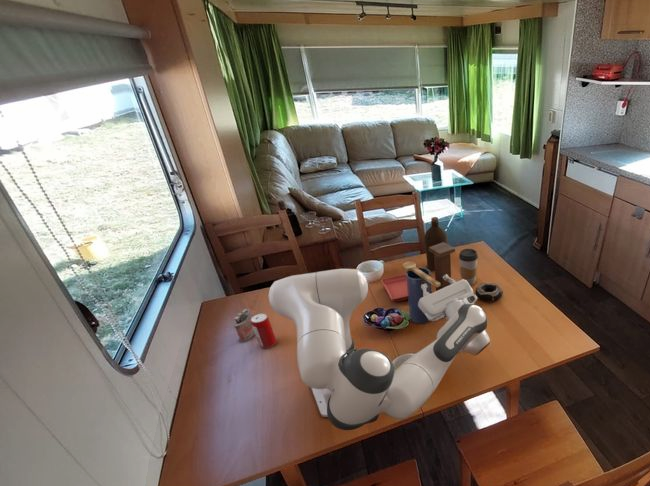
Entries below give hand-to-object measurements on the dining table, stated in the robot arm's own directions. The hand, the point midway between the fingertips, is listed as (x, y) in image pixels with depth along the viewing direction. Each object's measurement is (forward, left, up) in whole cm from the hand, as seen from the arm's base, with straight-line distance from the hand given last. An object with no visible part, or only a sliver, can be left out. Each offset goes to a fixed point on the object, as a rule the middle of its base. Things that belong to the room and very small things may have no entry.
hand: (433, 280), depth 133 cm
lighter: (+21, +66, -22) cm, 73 cm away
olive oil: (+46, -15, -22) cm, 53 cm away
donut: (+13, -28, -22) cm, 38 cm away
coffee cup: (+27, -24, -22) cm, 42 cm away
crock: (+9, +3, -21) cm, 24 cm away
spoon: (+8, +3, -1) cm, 8 cm away
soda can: (+13, +59, -22) cm, 65 cm away
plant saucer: (+30, +4, -22) cm, 37 cm away
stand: (+11, -7, -21) cm, 25 cm away
